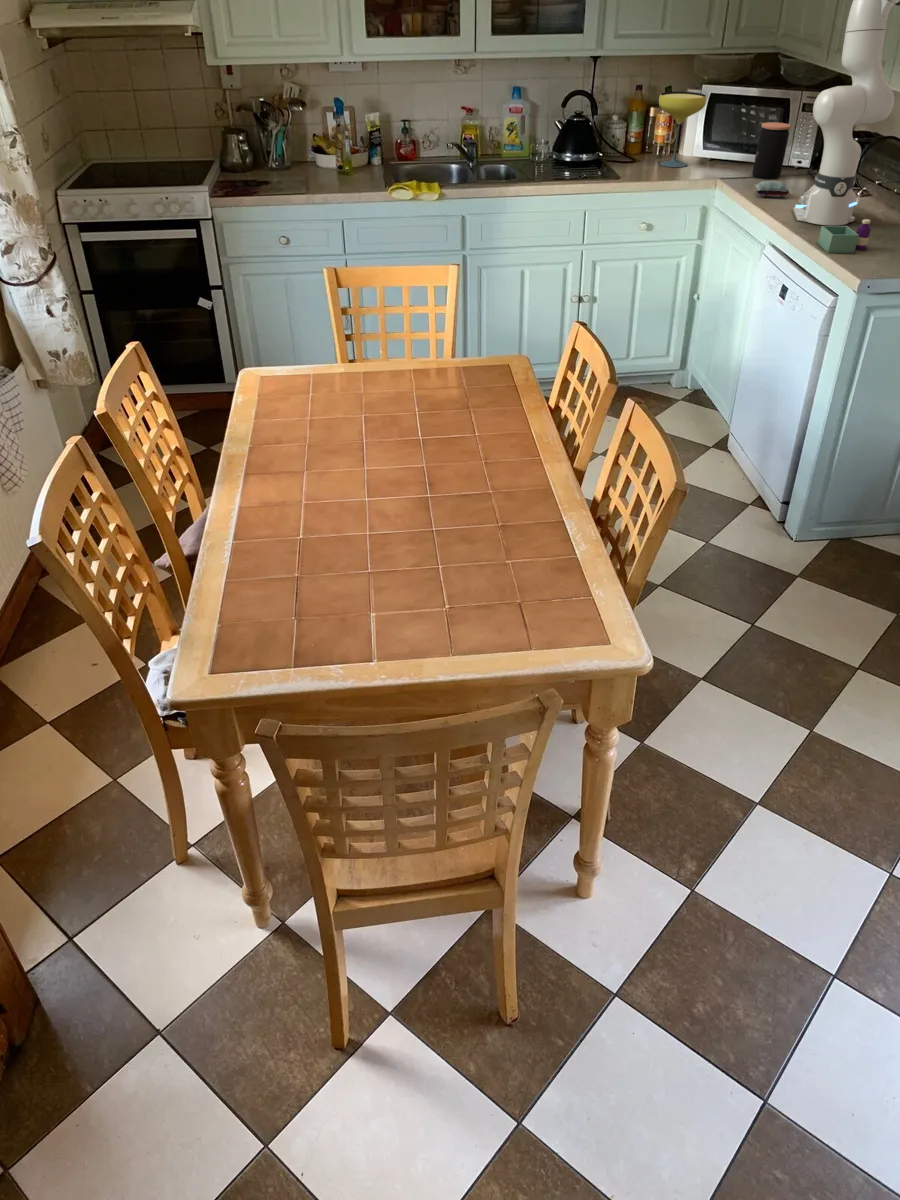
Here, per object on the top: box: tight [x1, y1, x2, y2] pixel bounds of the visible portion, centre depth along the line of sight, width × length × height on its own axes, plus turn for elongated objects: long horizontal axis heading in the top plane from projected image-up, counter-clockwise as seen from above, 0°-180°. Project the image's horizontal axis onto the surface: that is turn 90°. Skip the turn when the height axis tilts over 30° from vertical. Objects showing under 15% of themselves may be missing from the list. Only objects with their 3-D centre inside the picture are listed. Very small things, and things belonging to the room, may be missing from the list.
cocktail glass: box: [658, 91, 707, 168], centre depth 354 cm, size 18×18×25 cm
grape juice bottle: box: [855, 218, 872, 251], centre depth 265 cm, size 4×4×8 cm
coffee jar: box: [752, 121, 792, 180], centre depth 339 cm, size 11×11×18 cm
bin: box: [817, 225, 859, 254], centre depth 266 cm, size 10×8×5 cm
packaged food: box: [754, 180, 791, 198], centre depth 318 cm, size 9×12×5 cm
